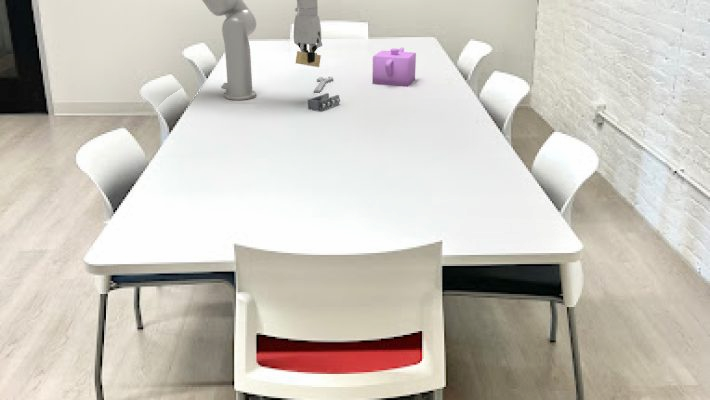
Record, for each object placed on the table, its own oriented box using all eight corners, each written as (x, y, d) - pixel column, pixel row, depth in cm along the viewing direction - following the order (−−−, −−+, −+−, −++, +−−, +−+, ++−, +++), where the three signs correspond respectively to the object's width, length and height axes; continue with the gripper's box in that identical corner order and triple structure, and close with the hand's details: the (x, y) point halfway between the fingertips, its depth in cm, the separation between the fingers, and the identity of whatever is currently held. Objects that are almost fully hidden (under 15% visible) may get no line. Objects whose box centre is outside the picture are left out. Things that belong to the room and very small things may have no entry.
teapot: (418, 76, 329) (420, 44, 324) (404, 89, 307) (405, 55, 302) (385, 73, 334) (386, 42, 328) (369, 86, 312) (369, 52, 306)
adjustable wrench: (319, 95, 300) (319, 90, 300) (304, 94, 302) (304, 90, 301) (334, 80, 323) (334, 76, 322) (319, 79, 324) (319, 75, 323)
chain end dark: (306, 108, 280) (306, 99, 278) (316, 105, 284) (316, 96, 283) (322, 111, 276) (321, 102, 275) (331, 107, 281) (331, 98, 279)
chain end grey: (317, 104, 285) (317, 95, 284) (325, 101, 289) (325, 92, 288) (332, 107, 281) (332, 98, 280) (340, 104, 285) (340, 95, 284)
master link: (295, 63, 281) (297, 49, 280) (314, 66, 291) (316, 53, 290) (300, 64, 279) (302, 50, 279) (319, 67, 290) (321, 53, 289)
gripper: (284, 11, 279) (285, 61, 286) (318, 15, 271) (319, 66, 278) (296, 9, 285) (297, 57, 292) (330, 12, 277) (331, 62, 284)
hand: (308, 61), depth 285 cm, fingers closed on master link, 2 cm apart
